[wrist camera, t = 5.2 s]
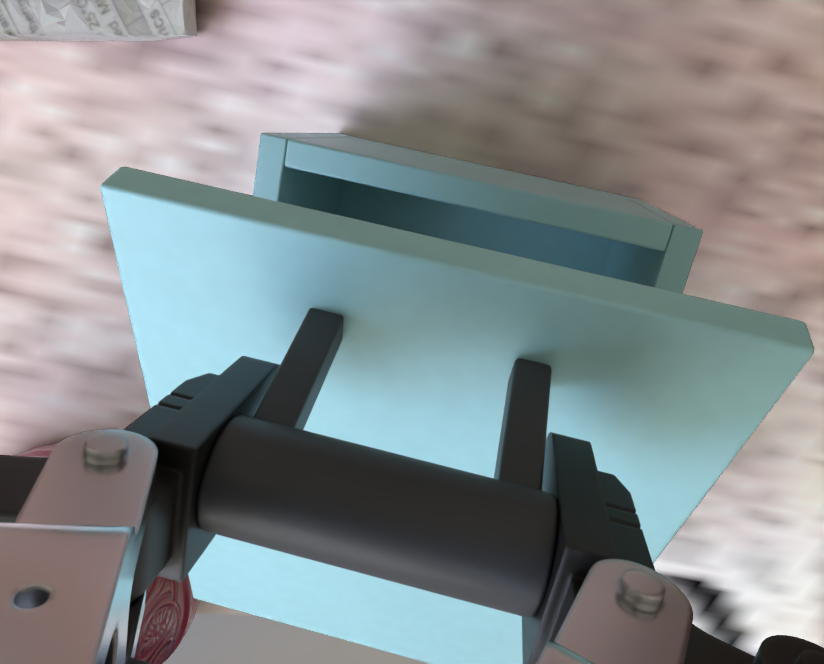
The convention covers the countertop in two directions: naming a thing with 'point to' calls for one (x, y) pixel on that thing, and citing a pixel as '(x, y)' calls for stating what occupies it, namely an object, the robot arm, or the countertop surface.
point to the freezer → (478, 206)
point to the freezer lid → (422, 408)
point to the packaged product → (97, 20)
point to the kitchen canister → (156, 606)
